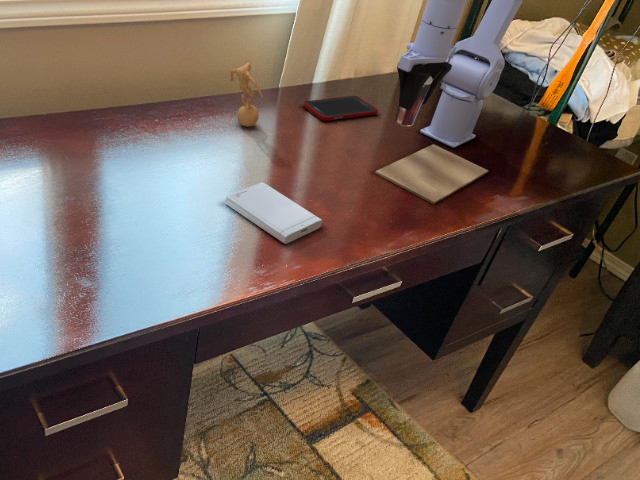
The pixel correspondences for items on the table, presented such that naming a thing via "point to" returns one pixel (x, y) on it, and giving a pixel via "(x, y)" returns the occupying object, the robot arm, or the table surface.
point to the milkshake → (408, 116)
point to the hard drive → (273, 212)
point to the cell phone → (340, 108)
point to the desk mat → (432, 173)
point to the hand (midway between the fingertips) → (412, 105)
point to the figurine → (247, 112)
